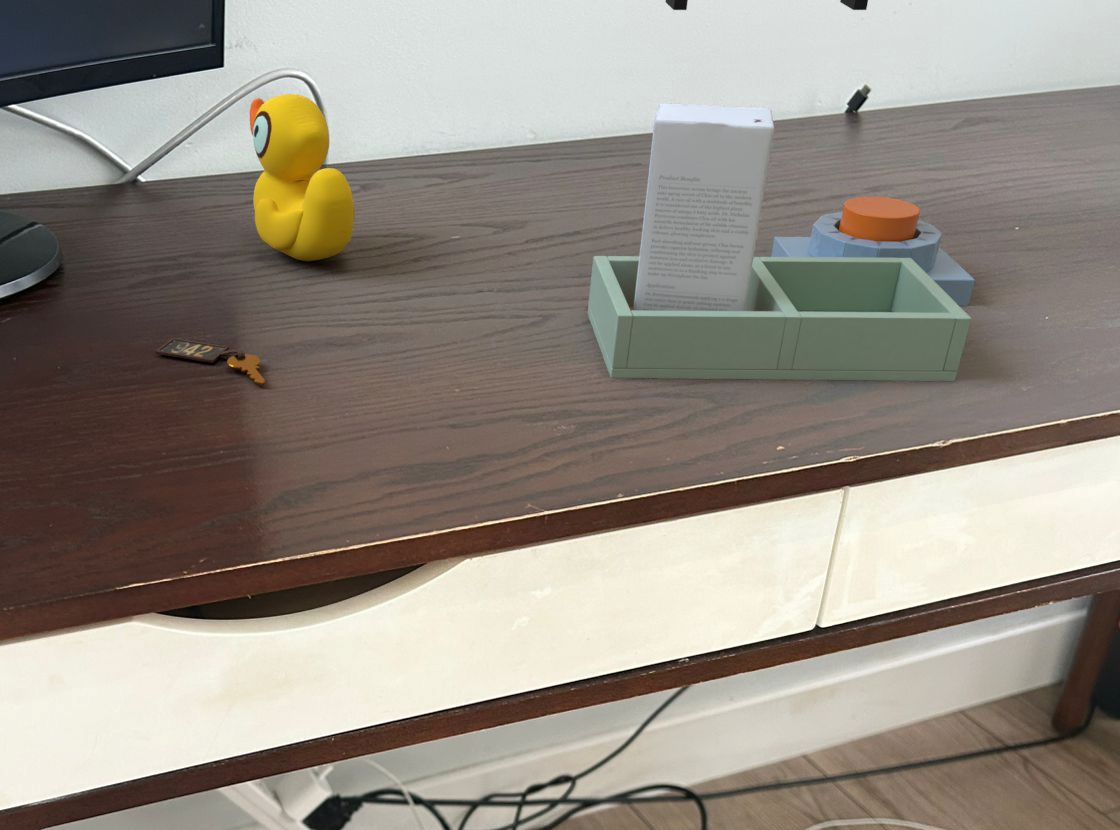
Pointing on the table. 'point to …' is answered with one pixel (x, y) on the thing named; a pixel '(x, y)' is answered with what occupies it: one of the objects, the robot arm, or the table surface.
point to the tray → (787, 324)
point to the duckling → (298, 181)
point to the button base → (882, 252)
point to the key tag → (213, 355)
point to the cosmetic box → (702, 207)
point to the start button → (879, 219)
